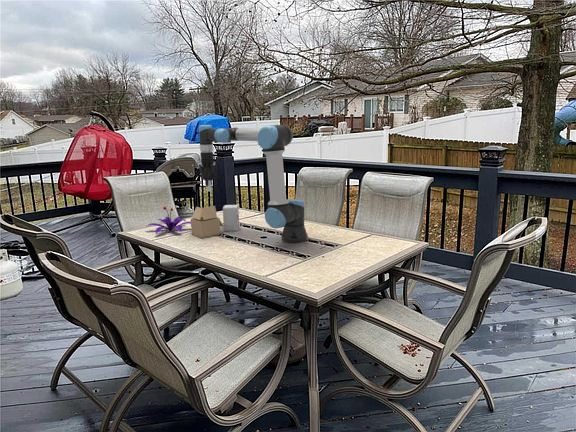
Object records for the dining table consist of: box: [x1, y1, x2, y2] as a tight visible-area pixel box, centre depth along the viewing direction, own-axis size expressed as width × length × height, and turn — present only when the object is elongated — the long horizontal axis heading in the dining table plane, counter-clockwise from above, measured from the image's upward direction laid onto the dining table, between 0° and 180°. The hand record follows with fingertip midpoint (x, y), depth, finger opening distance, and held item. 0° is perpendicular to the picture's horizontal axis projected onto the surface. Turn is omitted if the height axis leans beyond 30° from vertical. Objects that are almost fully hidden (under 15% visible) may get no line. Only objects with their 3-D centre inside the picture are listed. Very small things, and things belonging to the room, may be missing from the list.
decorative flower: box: [145, 206, 191, 234], centre depth 266 cm, size 28×31×15 cm
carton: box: [190, 215, 224, 239], centre depth 258 cm, size 16×16×10 cm
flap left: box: [191, 206, 203, 220], centre depth 251 cm, size 9×1×7 cm, turn 41°
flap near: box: [200, 205, 218, 220], centre depth 250 cm, size 1×9×7 cm, turn 131°
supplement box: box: [222, 204, 240, 232], centre depth 266 cm, size 9×9×15 cm
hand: (209, 191), depth 255 cm, fingers closed
